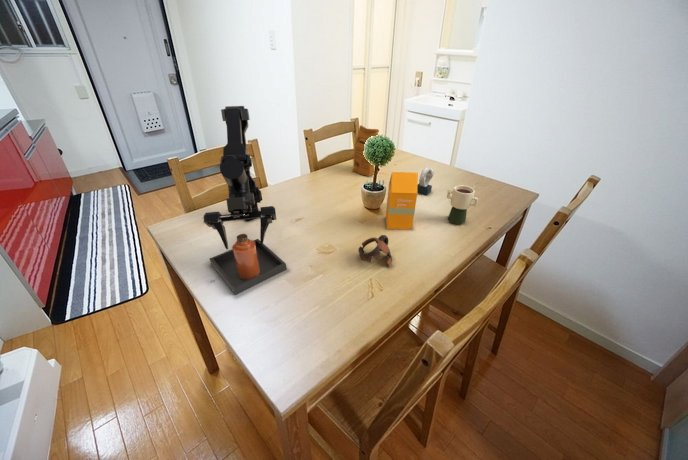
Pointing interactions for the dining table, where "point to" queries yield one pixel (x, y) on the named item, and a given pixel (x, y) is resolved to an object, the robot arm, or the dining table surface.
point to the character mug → (460, 203)
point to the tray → (268, 269)
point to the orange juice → (401, 200)
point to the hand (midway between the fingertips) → (244, 246)
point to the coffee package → (359, 160)
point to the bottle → (246, 257)
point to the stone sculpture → (425, 181)
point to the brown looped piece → (376, 249)
